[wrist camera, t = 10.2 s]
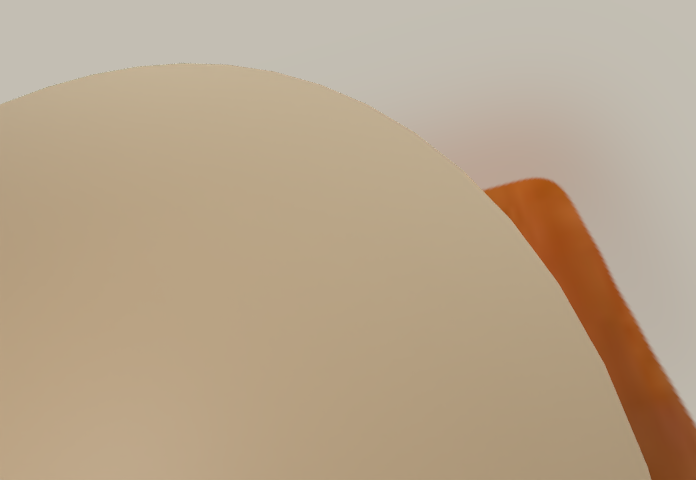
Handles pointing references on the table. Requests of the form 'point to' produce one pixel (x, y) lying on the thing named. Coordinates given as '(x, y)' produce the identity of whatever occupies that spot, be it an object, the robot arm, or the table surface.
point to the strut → (274, 297)
